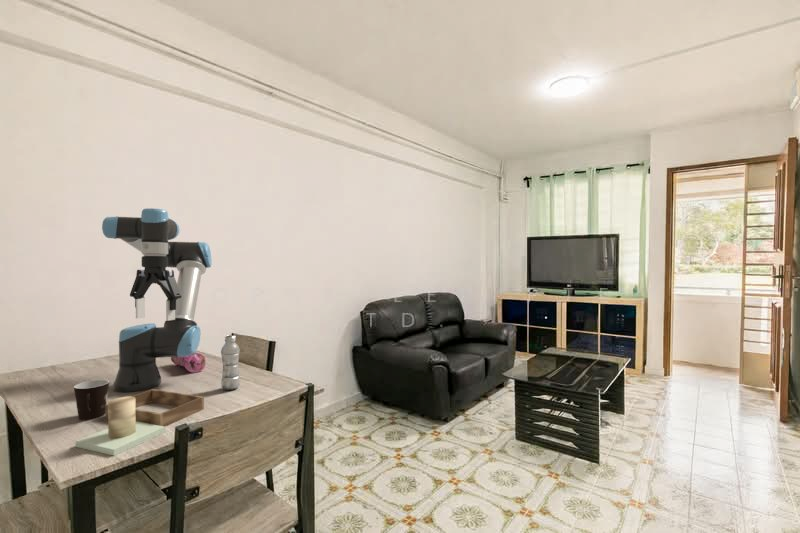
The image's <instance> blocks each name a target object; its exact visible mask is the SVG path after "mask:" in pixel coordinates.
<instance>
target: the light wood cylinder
mask: <svg viewBox="0 0 800 533" xmlns="http://www.w3.org/2000/svg"><path fill="white" fill-rule="evenodd" d="M107 402H108V403H107V404H108V418H107V420H108V422H107V423H108V424H107V428H108V437H109V438H112V439H117V438H123V437H127V436H130V435H132V434H133V433H135V432H136V409H137V407H136V398H135V397H130V396H123V397H117V398H116V397H115V398H113V399H111V400H109V401H107Z"/></svg>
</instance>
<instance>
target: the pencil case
mask: <svg viewBox="0 0 800 533" xmlns="http://www.w3.org/2000/svg"><path fill="white" fill-rule="evenodd" d="M170 360H171V362H172V363H173V364H174V365H176V366H179V367H183V368H185V370H187V371H188V372H190V373H198V372H201V371H203V370H204V369H205V368H206V357H205V355H204V354H202V353H201V352H198V351H196V352H195V353H194V354H192V355H190V356H183V357H170Z"/></svg>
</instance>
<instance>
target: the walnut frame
mask: <svg viewBox="0 0 800 533" xmlns="http://www.w3.org/2000/svg"><path fill="white" fill-rule="evenodd" d="M129 397H135V398H136V421H137V422H143V423H148V424H153V425H158V426H164V427H165V428H166V427H168V426H169V425H172V424H174V423H176V422H178V421H180V420H183V419H184V418H188V417H189V416H193V415H194V414H196V413H198V412H200V411H202V410H204V409H205V397H204V396H201V395H195V394H194V395H193V394H187V393H181V392H175V391H168V390H161V389H155V388H150V389H147V390H145V391H143V392H140V393H136V394H135V395H131V396H130V395H129ZM152 402H153V403H157V404H164V405H171V406H176V407H173V408H170V409H168V410H166V411H163V412H154V411H148V410H144V409H138V408H139V407H142V406H144V405H147V404H150V403H152ZM104 416H105V419H108V403H106V405H105V415H104Z"/></svg>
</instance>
